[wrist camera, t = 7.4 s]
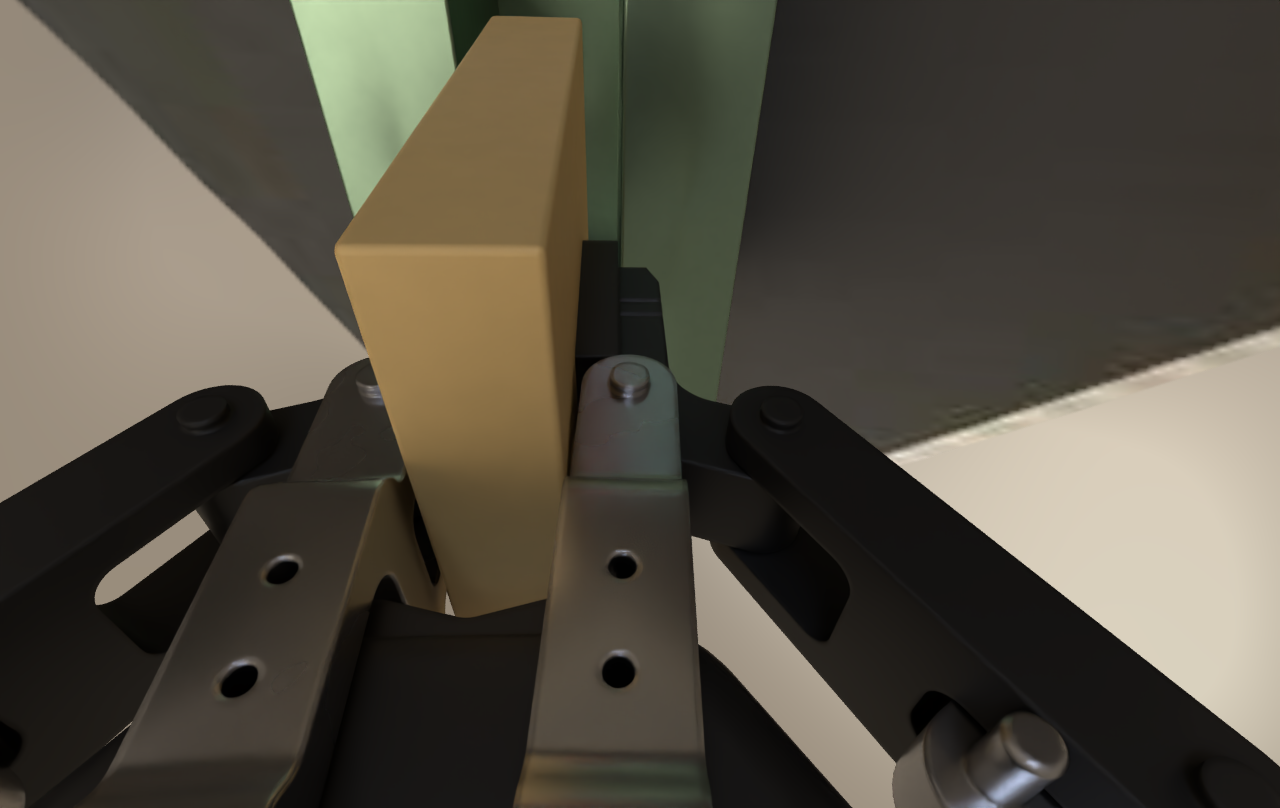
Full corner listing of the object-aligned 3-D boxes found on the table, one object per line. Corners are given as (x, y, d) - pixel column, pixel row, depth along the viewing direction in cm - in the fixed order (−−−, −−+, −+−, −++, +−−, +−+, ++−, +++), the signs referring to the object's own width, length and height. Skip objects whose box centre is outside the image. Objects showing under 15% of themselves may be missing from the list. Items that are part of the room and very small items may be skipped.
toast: (490, 14, 11) (327, 246, 5) (582, 16, 11) (545, 249, 5) (530, 369, 16) (481, 703, 10) (592, 369, 16) (581, 700, 10)
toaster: (390, -205, 17) (214, -246, 9) (723, -190, 17) (812, -217, 10) (469, 262, 26) (414, 429, 19) (683, 264, 26) (712, 428, 19)
